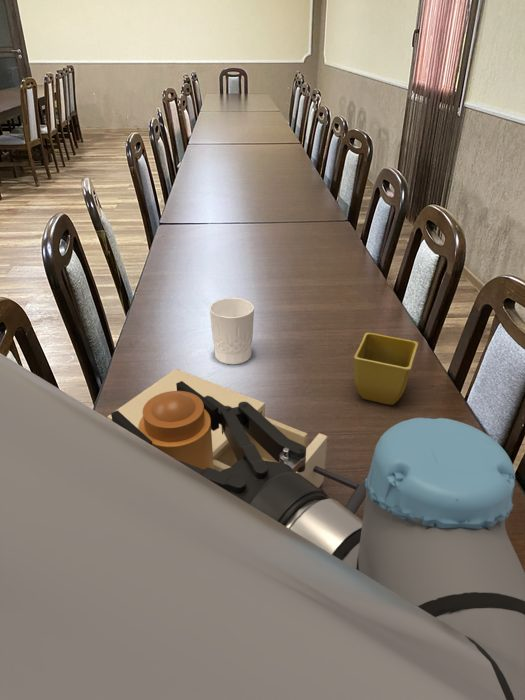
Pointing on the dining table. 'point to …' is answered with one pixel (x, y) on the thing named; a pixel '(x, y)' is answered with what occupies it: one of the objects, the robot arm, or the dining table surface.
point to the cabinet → (203, 387)
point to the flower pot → (383, 367)
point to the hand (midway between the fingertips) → (149, 406)
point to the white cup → (232, 329)
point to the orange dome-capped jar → (179, 427)
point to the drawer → (312, 465)
